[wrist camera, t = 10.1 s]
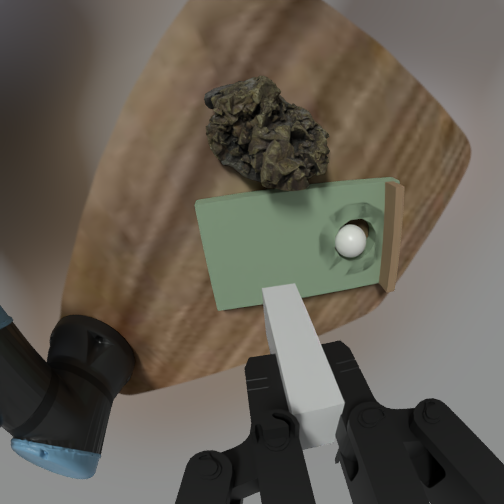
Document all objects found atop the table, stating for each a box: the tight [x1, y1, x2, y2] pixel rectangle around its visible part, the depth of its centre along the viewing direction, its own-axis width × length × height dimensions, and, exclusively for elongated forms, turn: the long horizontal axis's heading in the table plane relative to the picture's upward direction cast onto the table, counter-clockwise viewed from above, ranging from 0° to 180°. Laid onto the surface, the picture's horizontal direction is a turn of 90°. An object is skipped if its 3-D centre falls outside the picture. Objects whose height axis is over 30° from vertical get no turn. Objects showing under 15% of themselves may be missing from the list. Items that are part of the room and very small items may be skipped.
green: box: [195, 177, 404, 311], centre depth 34 cm, size 24×14×4 cm, turn 97°
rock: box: [204, 76, 330, 191], centre depth 28 cm, size 13×10×10 cm
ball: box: [335, 224, 366, 258], centre depth 34 cm, size 4×4×4 cm
